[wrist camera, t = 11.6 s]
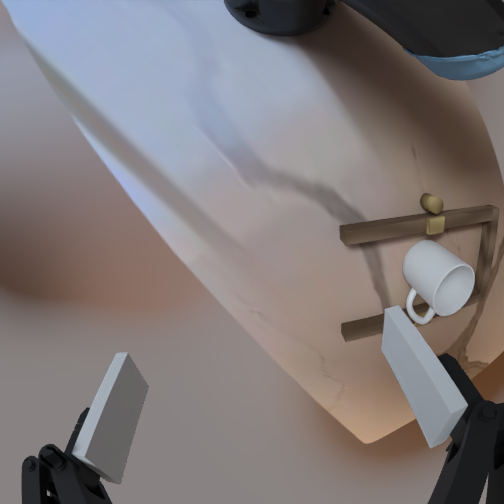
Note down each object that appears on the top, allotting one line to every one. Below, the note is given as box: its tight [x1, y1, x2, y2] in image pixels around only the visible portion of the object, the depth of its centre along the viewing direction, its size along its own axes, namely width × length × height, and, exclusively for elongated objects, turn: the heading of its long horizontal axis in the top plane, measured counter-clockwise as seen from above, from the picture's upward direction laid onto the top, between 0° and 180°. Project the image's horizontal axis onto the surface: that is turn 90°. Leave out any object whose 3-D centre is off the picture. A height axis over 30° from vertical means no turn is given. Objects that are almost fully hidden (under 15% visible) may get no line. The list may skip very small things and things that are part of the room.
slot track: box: [340, 193, 499, 342], centre depth 39 cm, size 22×32×3 cm
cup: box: [403, 240, 475, 324], centre depth 36 cm, size 8×12×10 cm
